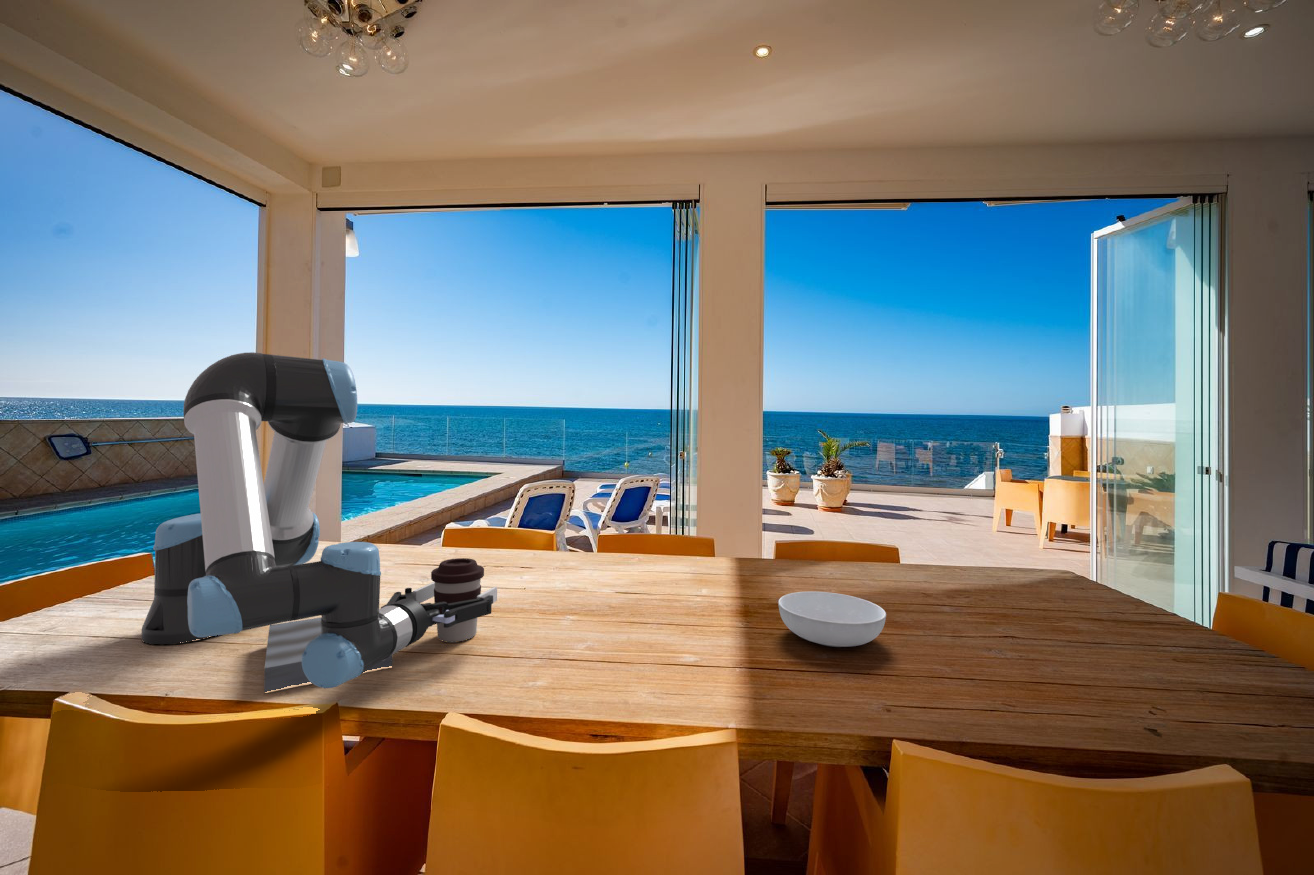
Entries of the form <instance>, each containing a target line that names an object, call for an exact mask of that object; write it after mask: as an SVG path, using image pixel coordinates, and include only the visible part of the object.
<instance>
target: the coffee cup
mask: <svg viewBox="0 0 1314 875" xmlns="http://www.w3.org/2000/svg"><path fill="white" fill-rule="evenodd" d="M484 576H485V568H484V567H483V566H482V565H479V564H478V563H477V561H476V560H475V559H474V558H468V557H467V558H466V557H465V558H462V557H460V558H451V559H450V558H449V559H445V560H442V561H441V562H440V563H439V565H438V566H437V567H436V568H434V569H432V571H430V579H431V581H432V582H435V588H434V597H433V599H434V601H433V602H434V603H439V602H446V603H447V604H448V603H454V602H460V601H465V600H471V599H477V596H478V595H480V594H482V593H481V592H482V585H481V579H483V578H484ZM439 612H440V615H442V607H439ZM436 627H437V628H436V632H437V638H438V640H439V639H440V640H439V641H441V640H443V641H447V642H446V643H457V642H456V641H462V642H464V641H463V640H466V639H469V640H471V639H473V638H474V637H475V636H476V634H477V629H478V618H474V619H471V620H468V621H464V622H461V623H457V624H455V625H453V626H451V627H449V628H445V627H444V623H439V624H436ZM473 636H474V637H473ZM470 638H471V639H470ZM443 641H442V642H443ZM466 641H467V640H466Z"/></svg>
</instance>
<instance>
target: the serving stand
mask: <svg viewBox="0 0 1314 875" xmlns="http://www.w3.org/2000/svg"><path fill="white" fill-rule="evenodd" d="M321 618H322V616H321V617H316V618H315V617H313V618H306V619H300V620H293V621H287V622H282V623H277V624H272V625H269V629H268V636H267V645H266V650H265V651H266V654H265V662H264V674H263V676H264V678H263V681H264V683H263V684H264V686H263V688H264V690H263V691H264V692H267V691H271V690H276V689H281V688H284V687H287V686H291V685H299V684H302V683H307V682H310V681H309V680H308V678H307V677H306V676H305V674H304V672H303V668H302V654H303V653H304V651H305V649H306V646H307V645H308V643H309V642H311V641H312V640H313V639H315V638H317V637H318V636H319V635H321ZM393 655H394V654H393ZM393 655H391V656H389V657H388V658H386V659H385V660H384V661H381V662H379V663H377V664H376V665H374V666H372V667H371V668H369V669H368V670H372V669H377V668H381V667H389V666H392V667H393ZM366 671H367V670H366ZM264 692H263V693H264Z"/></svg>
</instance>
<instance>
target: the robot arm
mask: <svg viewBox="0 0 1314 875" xmlns="http://www.w3.org/2000/svg"><path fill="white" fill-rule="evenodd" d="M357 392H358V390H357V386H356V379H355V377H354V373H353V371H352V369H351V367H350V366H349V365H348V364H347V363H345V362H343V361H338V360H331V359H326V358H323V357H322V358H321V359H317V358H308V357H307V358H306V357H299V356H289V355H279V354H271V353H270V354H269V353H262V352H253V351H252V352H240V353H235V354H231V355H229V356H226V357H223V358H221V359H218V360H217V361H215V362H214V363H211V365H208V367H207V368H205V369H204V370H203V371H202V372H201V373H200V374H199V375H197V377H196V378H195V379H194V381H193V382H192V384H191V386H189V389H188V390H187V393H186V396H185V399H184V403H183V409H182V410H183V423H184V424H183V425H184V426H185V428H186V430H188V432H189V433H190V434H192V435H193V436H194V450H195V451H194V452H195V463H196V475H197V486H198V496H199V498H198V499H199V508H200V509H199V510H200V513H195V514H193V513H192V514H190V515H189V514H188V515H184V516H180V517H175V518H172V519H168V520H166V521H164V522H162V523H160V524H159V525H158V527H157V528H156V530H155V537H154V545H153V546H152V548H153V550H154V552H155V554H154V557H155V558H154V591H153V592H154V593H153V594H154V597H153V600H152V602H151V605H150V608H149V610H148V612H147V615H146V617H145V620H144V622H143V623H142V624H143V625H142V627H141V639H142V640H143V641H144V642H146V643H145V644H147V643H149V644H148V645H153V644H170V645H175V644H174V643H180V642H181V643H180V644H183V643H182V642H186V641H187V643H189V642H188V641H192V640H196V639H203V638H207V637H209V636H215V637H218V636H223V635H224V636H225V635H231V634H232V635H233V634H239V633H241V632H244V631H247V630H253V629H257V628H261V627H263V628H264V627H266V626H270V625H274V624H281V623H287V622H294V621H300V620H305V619H310V618H315V617H318V616H319V617H320V616H321V617H322V618H321V617H320V618H321V635H319V636H318V637H317V638H315V639H313V640H312V641H311V642H309V643H308V645H307V646H306V649H305V651H304V653H303V654H302V668H303V672H304V674H305V676H306V677H307V678H308V680H309V681H310V682H311V683H313V684H312V685H314V686H315V687H317V688H322V689H333V688H336V687H339V686H340V685H343V684H344V683H347V682H348V681H351V680H353V679H356V678H358V677H360V675H363V674H362V673H363V672H365V671H366V670H368V669H369V668H371V667H372V666H374V665H376V664H377V663H379V662H381V661H384V660H385V659H386V658H388V657H389V656H391V655H394V654H396V653H398V652H400V651H401V650H403V649H405V648H407V647H408V646H411V645H412V644H414V643H415V642H417V641H419V640H420V639H421V638H423V636H424V635H425V634H426V632H427V630H428V629H429V628H430V627H433V626H434V625H437V624H439V623H444V627H445V628H449V627H451V626H453V625H455V624H457V623H461V622H464V621H468V620H471V619H474V618H477V619H478V618H481V617H486V616H487V615H491V614H492V611H493V610H492V608H493V607H492V605H493V604H494V603H495V602H497V601H498V587H497V586H493V587H491V588H489V589H487V590H485V591H484V592H482V593H481V594H480V595H478V596H477V599H471V600H465V601H460V602H454V603H448V604H447V603H446V602H439V603H435V602H434V603H431V602H426V601H428V600H431V599H432V598H434V588H435V582H434V581H432V582H431V583H428V584H426V585H423V586H421V587H420V588H417V589H414V590H413V589H412V587H406V588H404V594H402V592H401V591H395V592H394V593H393V594H392V596H391V597H390V599H389V600H388V601H387V603H386V604H384V605H382V606H381V607H380V599H381V598H380V595H381V594H380V592H381V591H380V590H381V576H382V571H381V558H380V550H379V548H378V546H377V545H375V544H374V543H372V542H368V541H349V542H346V541H345V542H339V543H337V544H331V545H327V546H326V547H325V548H323V549H322V552H321V555H320V556H321V557H320V560H319V561H313V562H310V561H311V560H312V559H313V558H314V556H315V554H316V552H317V550H318V547H319V544H320V541H319V538H320V535H321V531H320V530H321V528H320V521H319V518H318V516H317V514H316V513H315V512H313V511H312V510H311V508H310V504H311V500H312V496H313V494H314V489H315V486H316V482H317V477H318V475H319V471H320V468H321V465H322V459H323V456H324V452H325V450H326V446H327V441H329V440H330V439H333V438H334V437H336V435H337V434H338V433H339V432H340V431H339V430H340V428H341V424H344V425H348V424H352V423H354V422H355V420H356V418H357V414H358V393H357ZM262 422H267V424H268V426H269V428H270V429H271V430H272V431H274V433H273V438H272V443H271V448H270V452H269V456H268V463H267V467H266V470H265V476H264V477H263V471H262V465H261V459H260V457H261V456H260V450H259V445H258V443H259V442H258V438H257V430H258V429H259V427H260V426H261V424H262ZM263 478H264V479H263ZM424 602H426V603H424ZM439 607H442V615H440V612H439ZM217 635H218V636H217ZM207 639H208V638H207ZM142 640H141V641H142ZM203 640H204V639H203ZM144 642H143V643H144Z"/></svg>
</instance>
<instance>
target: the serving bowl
mask: <svg viewBox="0 0 1314 875" xmlns="http://www.w3.org/2000/svg"><path fill="white" fill-rule="evenodd" d="M777 604H778V609H779V611H778V612H779V614H780V618H781V620H782V622H783V623H784V625H785V626H786V627H787V629H789V630H790V631H791V632H792V633H793V634H795V635H797V636H798V637H800V638H801V639H804V640H806V641H809V642H812V643H816V644H818V645H821V646H826V647H831V648H834V647H835V648H842V647H844V648H846V647H847V648H848V647H856V646H862V645H866V644H867V643H870V642H871V641H873V640H875V639H876V638H877V637H878V636H879V635H880V634H881V632H882V631H883V629H884V626H885V623H886V619H887V612H886V611H885V609H883V608H882V607H881V606H879V605H877V604H876V603H875V602H871V601H869V600H867V599H863V598H860V597H858V596H857V597H856V596H852V595H847V594H843V593H837V592H830V591H829V592H828V591H814V590H813V591H811V590H809V591H798V592H791V593H787V594H784V595H783V596H781V597H780V598H779V599H778V603H777Z"/></svg>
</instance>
